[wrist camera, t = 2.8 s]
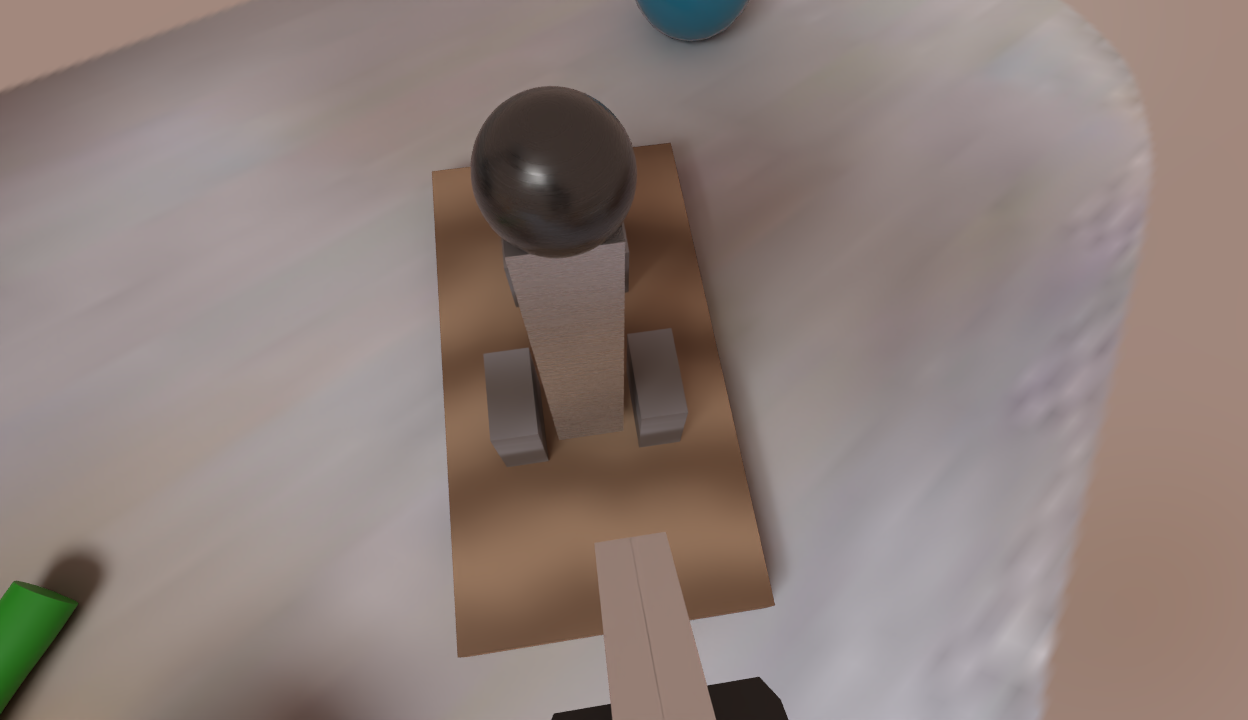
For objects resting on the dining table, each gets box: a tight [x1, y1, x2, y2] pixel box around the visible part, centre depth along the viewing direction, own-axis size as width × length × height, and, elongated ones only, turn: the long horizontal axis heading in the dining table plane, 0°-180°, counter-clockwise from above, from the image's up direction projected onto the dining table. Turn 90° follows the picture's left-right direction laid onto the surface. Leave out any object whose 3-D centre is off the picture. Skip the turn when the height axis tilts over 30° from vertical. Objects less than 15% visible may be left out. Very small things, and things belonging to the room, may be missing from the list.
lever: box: [471, 86, 637, 440], centre depth 23 cm, size 4×4×19 cm
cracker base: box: [432, 143, 775, 657], centre depth 32 cm, size 26×14×9 cm, turn 9°
